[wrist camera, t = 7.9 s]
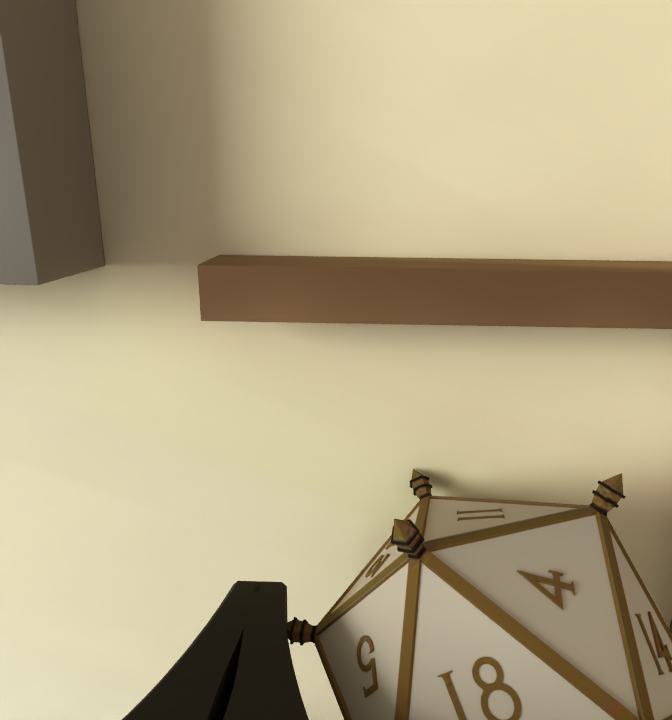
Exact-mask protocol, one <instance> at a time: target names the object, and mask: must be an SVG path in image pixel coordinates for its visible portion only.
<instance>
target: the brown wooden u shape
mask: <svg viewBox="0 0 672 720" xmlns="http://www.w3.org/2000/svg"><path fill="white" fill-rule="evenodd" d="M198 279H199V295H200V311H201V321H247V322H304V323H362V324H420V325H477V326H535V327H593V328H650V329H672V262H661V261H592V260H522V259H452V258H382V257H313V256H243V255H219V256H217V257H215V258H212V259H210V260H208V261H206V262H204V263H201V264H199V265H198ZM670 632H671V634H672V623H671V627H670Z"/></svg>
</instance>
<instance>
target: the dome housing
mask: <svg viewBox="0 0 672 720" xmlns="http://www.w3.org/2000/svg"><path fill="white" fill-rule="evenodd" d="M102 266H105V262H104V253H103V244H102V235H101V226H100V217H99V209H98V200H97V191H96V182H95V173H94V164H93V155H92V146H91V138H90V129H89V120H88V111H87V102H86V93H85V84H84V76H83V67H82V58H81V49H80V40H79V31H78V22H77V13H76V5H75V0H0V284H22V285H39V284H43V283H46V282H50V281H53V280H57V279H60V278H64V277H67V276H71V275H74V274H78V273H81V272H85V271H88V270H92V269H95V268H99V267H102Z"/></svg>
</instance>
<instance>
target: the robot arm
mask: <svg viewBox="0 0 672 720" xmlns="http://www.w3.org/2000/svg"><path fill="white" fill-rule="evenodd" d="M286 627H287V586H286V585H284V584H283V583H282V582H256V581H237V582H236V583H235V584H234V585H233V586H232V588H231V590H230V591H229V593H228V594H227V596H226V597H225V599H224V600H223V602H222V603H221V605H220V606H219V608H218V609H217V611H216V612H215V613H214V615H213V616H212V618H211V619H210V620H209V622H208V623H207V624H206V626H205V627H204V628H203V630H202V631H201V632H200V634H199V635H198V636H197V638H196V639H195V640H194V641H193V643H192V644H191V645H190V647H189V648H188V649H187V650H186V652H185V653H184V654H183V655H182V656H181V657H180V659H179V660H178V661H177V662H176V663H175V664H174V666H173V667H172V668H171V669H170V670H169V671H168V673H167V674H166V675H165V676H164V677H163V678H162V679H161V681H160V682H159V683H158V684H157V685H156V686H155V687H154V688H153V689H152V690H151V691H150V692H149V693H148V694H147V696H146V697H145V698H144V699H143V700H142V701H141V702H140V703H139V704H138V705H137V706H136V707H135V708H134V709H133V710H132V711H131V712H130V713H129V714H127V715H126V716H125V717H124V718H123V719H122V720H309V719H308V716H307V713H306V710H305V707H304V704H303V701H302V698H301V694H300V691H299V687H298V684H297V680H296V676H295V672H294V668H293V664H292V659H291V654H290V649H289V643H288V638H287V631H286Z"/></svg>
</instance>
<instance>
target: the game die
mask: <svg viewBox="0 0 672 720" xmlns="http://www.w3.org/2000/svg"><path fill="white" fill-rule="evenodd" d="M428 480H429V477H426V476H423V475H422V474H420V473H419V472H417V471H416V470H415V469H413V474H412V480H410V487H411V488H413V490H414V496H415V495H417V497H418V498H419V499H420V501H419V502H418V503H417V505H416V506H415V507H414V508H413V509H412V511H411V512H410V513H409V514H408V516H407V517H406V518H405V519H404V520H398V519H394V526H393V530H392V535H391V536H390V537H389V539H388V540H387V541H386V542H385V543H384V545H383V546H382V547H381V548H380V550H379V551H378V552H377V553H376V554H375V556H374V557H373V558H372V559H371V561H370V562H369V563H368V564H367V565H366V567H365V568H364V569H363V570H362V571H361V573H360V574H359V575H358V576H357V578H356V579H355V580H354V581H353V582H352V584H351V585H350V586H349V587H348V588H347V590H346V591H345V592H344V593H343V595H342V596H341V597H340V598H339V599H338V601H337V602H336V603H335V604H334V605H333V607H332V608H331V609H330V610H329V612H328V613H327V614H326V615H325V616H324V618H323V619H322V620H321V621H320V622H319V624H318V625H316V626H312V625H310V624H308V622H307V621H306V620H303V621H299V620H298V619H297V618H296V617H294V620H292V621H290V622H288V623H287V627H286V631H287V638H288V639H289V640H290V644H293V643H294V642H299V643H300V645H303V644H304V643H306V642H313V643H315V646H316V648H317V651H318V653H319V656H320V658H321V661H322V664H323V666H324V669H325V671H326V674H327V676H328V679H329V681H330V684H331V687H332V689H333V692H334V694H335V697H336V699H337V702H338V705H339V707H340V710H341V712H342V715H343V717H344V720H672V634H671V632H670V631H669V629H668V627H667V625H666V623H665V622H664V620H663V618H662V616H661V614H660V612H659V611H658V609H657V607H656V605H655V603H654V602H653V600H652V598H651V596H650V594H649V593H648V591H647V589H646V587H645V585H644V583H643V582H642V580H641V578H640V576H639V574H638V573H637V571H636V569H635V567H634V565H633V564H632V562H631V560H630V558H629V556H628V554H627V553H626V551H625V549H624V547H623V545H622V544H621V542H620V540H619V538H618V536H617V535H616V533H615V531H614V529H613V527H612V525H611V524H610V522H609V520H608V518H607V512H608V511H610V510H611V509H612V508H613V507H616V508H617V507H618V506H619V505H617V503H618V502H619V500H620V499H621V498H625V496H624V495H623V484H622V473H621V474H619V475H617V476H614V477H612V478H609V479H607V480H605V481H602V482H601V481H598V483H599V484H600V485H599V486H598V488H597V490H596V491H594V490H593V492H592V493H594V498H593V502H592V503H591V504H590V505H589V506H588V505H572V504H555V503H539V502H523V501H507V500H491V499H475V498H458V497H442V496H432V495H431V488H432V485H430V484H429V482H428Z"/></svg>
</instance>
